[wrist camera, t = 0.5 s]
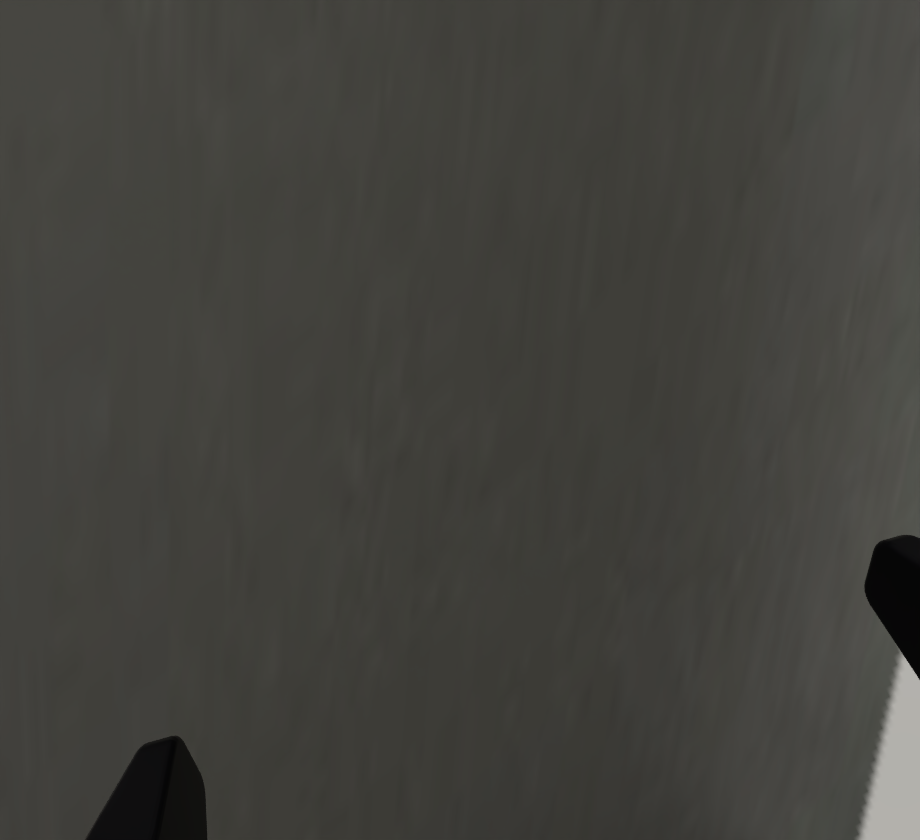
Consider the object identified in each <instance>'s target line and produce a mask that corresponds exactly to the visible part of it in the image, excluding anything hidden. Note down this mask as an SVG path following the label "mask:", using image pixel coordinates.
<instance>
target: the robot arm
mask: <svg viewBox="0 0 920 840" xmlns="http://www.w3.org/2000/svg"><path fill="white" fill-rule="evenodd" d="M864 587H865V594H866V597H867V599H868V602H869V603H870V605H871V607H872V608H873V610H874V611H875V613H876V614H877V616H878V617H879V619H880V620H881V622H882V623H883V625H884V626H885V628H886V629H887V631H888V632H889V634H890V635H891V637H892V638H893V640H894V641H895V643H896V645H897V646H898V648H899V649H900V651H901V652H902V654H903V655H904V657H905V658H906V660H907V661H908V663H909V664H910V666H911V667H912V668H913V670H914V672H915V673H916V674H917V676H918V678H919V679H920V538H918V537H915V536H912V535H901V536H897V537H893V538H890V539H886V540H883V541H880V542H879V543H878V544H877V545H876V546H875V548H874V551H873V554H872V558H871V562H870V566H869V569H868V573H867V577H866V580H865V585H864ZM85 840H207V821H206V798H205V788H204V783H203V779H202V776H201V773H200V771H199V770H198V768H197V766H196V764H195V762H194V760H193V758H192V756H191V754H190V752H189V751H188V749H187V747H186V745H185V743H184V741H183V740H182V739H181V738H180V737H178V736H170V737H167V738H163V739H160V740H156V741H152V742H149V743H146V744H144V745H143V746H142V747H140V748H139V750H138V751H137V752H136V754H135V755H134V757H133V759H132V761H131V762H130V764H129V766H128V767H127V769H126V771H125V772H124V774H123V776H122V778H121V779H120V781H119V783H118V784H117V786H116V788H115V789H114V791H113V793H112V795H111V796H110V798H109V800H108V801H107V803H106V805H105V806H104V808H103V810H102V812H101V813H100V815H99V817H98V818H97V820H96V822H95V823H94V825H93V827H92V829H91V830H90V832H89V834H88V835H87V837H86V839H85Z"/></svg>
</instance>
